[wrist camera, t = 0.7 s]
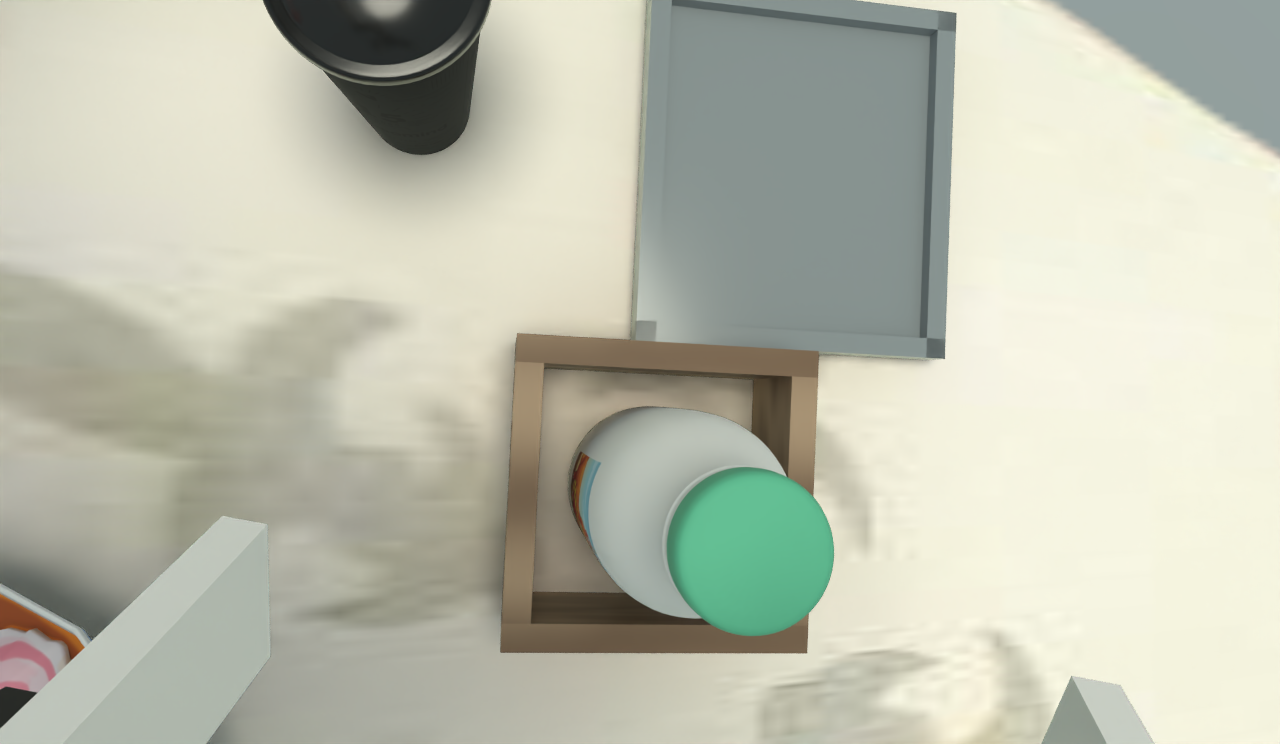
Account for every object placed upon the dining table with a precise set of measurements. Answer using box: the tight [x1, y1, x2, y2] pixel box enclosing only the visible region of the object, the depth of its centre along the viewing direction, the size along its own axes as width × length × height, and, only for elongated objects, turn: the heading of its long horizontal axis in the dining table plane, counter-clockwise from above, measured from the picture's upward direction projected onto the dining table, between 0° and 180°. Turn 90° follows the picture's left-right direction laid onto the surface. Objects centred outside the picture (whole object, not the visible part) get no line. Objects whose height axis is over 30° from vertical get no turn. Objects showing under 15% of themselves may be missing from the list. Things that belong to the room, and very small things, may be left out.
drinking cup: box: [263, 0, 492, 155], centre depth 32 cm, size 8×8×20 cm
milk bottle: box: [568, 407, 834, 636], centre depth 33 cm, size 8×8×20 cm
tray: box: [630, 0, 956, 360], centre depth 44 cm, size 18×16×2 cm
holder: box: [500, 333, 819, 653], centre depth 40 cm, size 13×13×6 cm
